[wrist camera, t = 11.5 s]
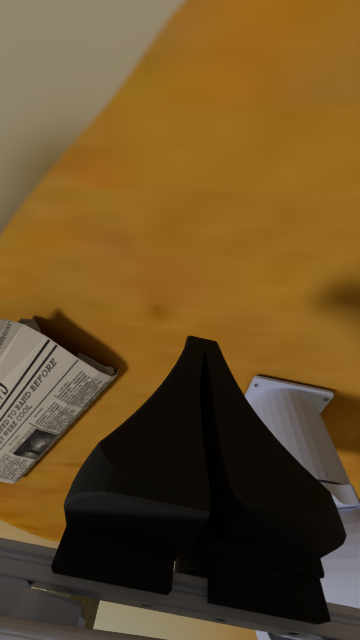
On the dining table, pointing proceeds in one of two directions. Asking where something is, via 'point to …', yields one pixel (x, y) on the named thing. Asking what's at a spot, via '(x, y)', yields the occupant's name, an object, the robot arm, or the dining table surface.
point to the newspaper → (40, 394)
